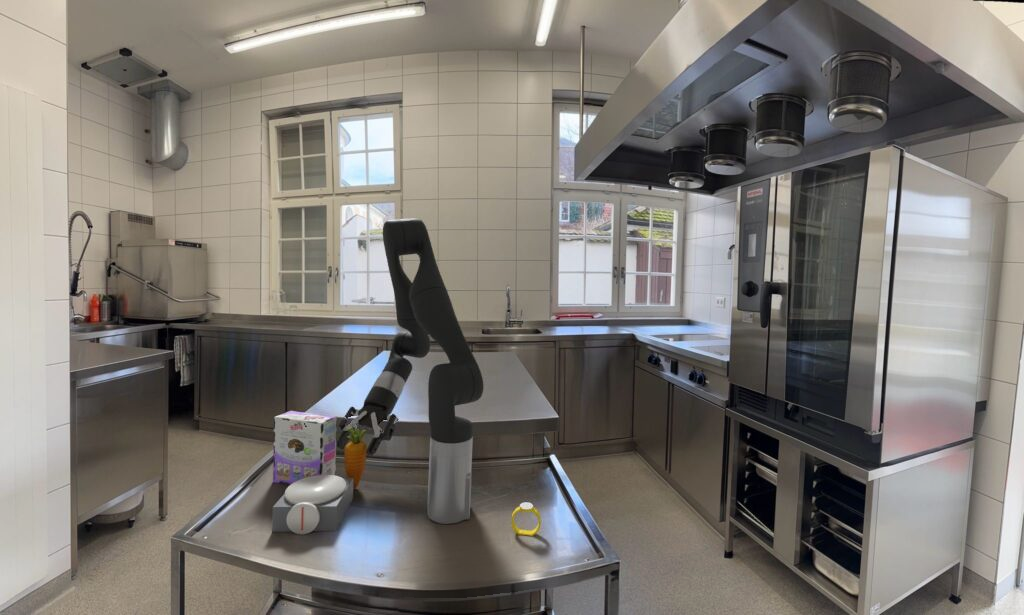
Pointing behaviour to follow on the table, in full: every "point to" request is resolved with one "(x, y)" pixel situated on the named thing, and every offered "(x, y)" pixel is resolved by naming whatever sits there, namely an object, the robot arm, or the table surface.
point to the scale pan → (315, 489)
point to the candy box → (303, 446)
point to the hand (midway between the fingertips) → (354, 451)
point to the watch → (526, 508)
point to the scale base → (311, 513)
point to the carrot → (355, 456)
